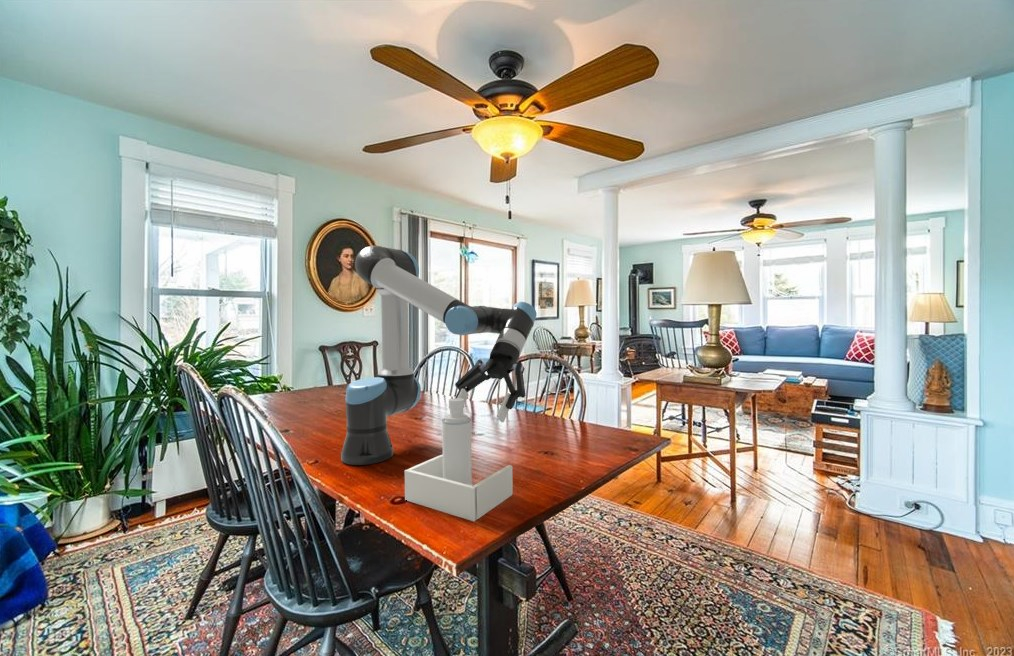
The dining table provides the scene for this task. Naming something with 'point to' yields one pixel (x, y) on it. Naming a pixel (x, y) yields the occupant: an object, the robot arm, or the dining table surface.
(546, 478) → the dining table surface
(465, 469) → the white bottle
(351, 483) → the dining table surface
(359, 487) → the dining table surface
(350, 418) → the robot arm
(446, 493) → the storage bay
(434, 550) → the dining table surface
